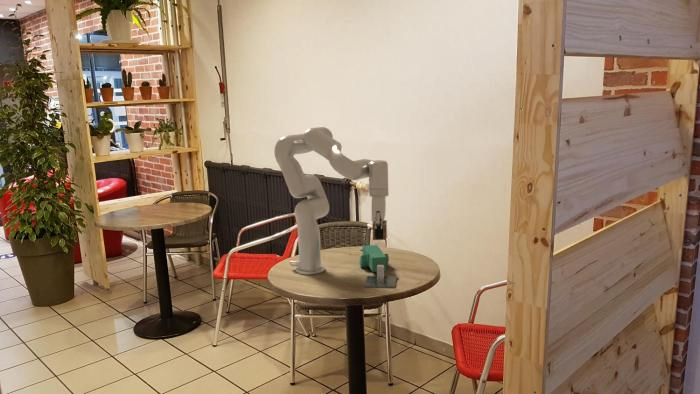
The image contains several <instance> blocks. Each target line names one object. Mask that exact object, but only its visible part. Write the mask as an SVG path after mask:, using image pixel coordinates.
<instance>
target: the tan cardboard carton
mask: <svg viewBox="0 0 700 394" xmlns="http://www.w3.org/2000/svg"><path fill="white" fill-rule="evenodd" d="M380 221H381V220H380ZM387 223H388V222H387V220H385V219H384V221H383V222H382V229H383V239H375V221H373V222H372V241H387V237H388V228H387V227H388V226H387Z"/></svg>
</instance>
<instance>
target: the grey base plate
mask: <svg viewBox="0 0 700 394" xmlns="http://www.w3.org/2000/svg"><path fill="white" fill-rule="evenodd" d="M396 281H397V276H392V275H389V276H388V275H386V276H385V271H384V265H377V271H376V275H367V276H366V279H365V282H364V288H382V289H383V288H384V289H386V288H387V289H388V288H390V289H391V288H392V289H395V288H396V283H397V282H396Z"/></svg>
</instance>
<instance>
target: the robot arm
mask: <svg viewBox="0 0 700 394" xmlns="http://www.w3.org/2000/svg"><path fill="white" fill-rule="evenodd" d="M273 150H274V157H275V160H276V163H277V164H278V166H279V169H280V171H281V173H282V175H283V178H284V181H285V183H286V185H287V189H288V191H289V193H290V195H291V196H292V197H293V198H294V199H302V198H305V197H306V198H307V199H303V200H301V201H299V202H298V203H297V204H296V205H295V208H294V217H295V221H296V226H297V227H296V228H297V240H298V242H297V244H298V245H297V246H298V259H297V260H296V261H295V260H290V261H289V265H290V266H291V267H296V268H295V272H296V273H297V274H299V275H306V276H307V275H318V274H321V273H323V272H324V271H325V269H326V267H325V265H323V264H322V255H321V254H322V252H321V235H320V234H321V233H320V227H319V224H318V221H317V220H319V219H321V218H324V217H325V216H327V215H328V214H329V211H330V204H329V200H328V197H327V195H326V192H325V190H324V187H323V184H322V182H321V180H320V179H319V177H317V176H316V175H315V174H311V173H307V174H305V173H304V171H303V168H302V166H301V164H300V162H299V161H298V160H297V159H296V158H295V157H294V155H295V156H296V155H300V154H301V155H302V154H307V153H310V152H315V153H317V154H318V155H320V157H323V158H324V159H326V160H327V161H328V162H329V164H330V166H331V167H332V170H334V171H335V172H337V173H338V174H339V175H341V176H342V177H344V178H345V179H348V180H351V181H358V180H362V179H366V178H368V189H369V190H368V191H369V192H368V193H369V194H368V195H369V197H371V221H372V223H373V221H375V239H383V229H382V222H383V221H384V220H385V218H386V209H387V208H386V197H388V196H389V164H388V162H387V161H386V160H383V159H381V160H374V159H368V158H363V159H356V160H352V159H350V158H349V157H347V156H346V155H344V154H343V153H342V152H341V151H342V144H341V142H339V141H338V140H336V139H334V138H333V132H332V131H331V130H330V129H329V128H327V127H325V126H321V127H320V126H319V127H318V126H317V127H310V128H308V129H306V130H305V131H304V133H300V134H289V135H285V136H282V137H280V138H279V139H278V140H277V141H276V144H275V146H274V149H273ZM380 220H381V221H380Z"/></svg>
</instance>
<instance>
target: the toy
mask: <svg viewBox="0 0 700 394" xmlns="http://www.w3.org/2000/svg"><path fill="white" fill-rule="evenodd" d="M361 248H362V249H359V250H358V251H359V252H362V255H360V259H359V267H360V268H359V269H364V268H370V270H371V271H372V272H377V265H384V272H386V271H387V267H388V264H389V260H390V259H389V254H388V253H384V252H383V250H382V249H381V248H380V247H379V246H378V244H370V240H368V241H367V244H366V243H365V244H364V245H362V247H361Z"/></svg>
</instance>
